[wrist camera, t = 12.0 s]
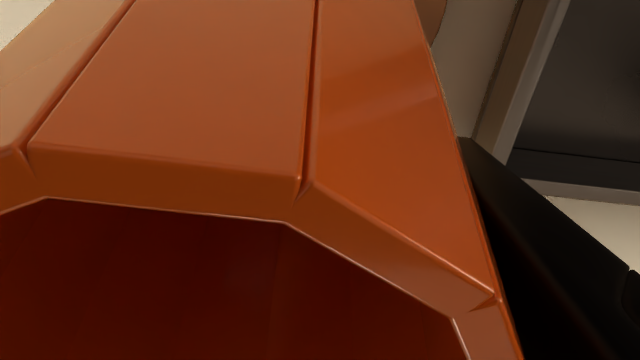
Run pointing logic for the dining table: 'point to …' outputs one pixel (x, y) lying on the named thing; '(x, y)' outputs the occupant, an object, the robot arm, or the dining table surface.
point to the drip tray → (568, 99)
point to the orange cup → (238, 188)
